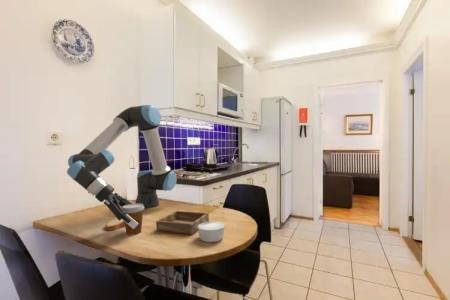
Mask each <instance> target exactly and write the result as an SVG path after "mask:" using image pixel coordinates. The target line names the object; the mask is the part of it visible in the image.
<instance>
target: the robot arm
mask: <svg viewBox="0 0 450 300" xmlns="http://www.w3.org/2000/svg"><path fill="white" fill-rule="evenodd" d="M161 120H162V114H161V112H160V109H158V108H157V107H156V106H155V105H152V104H144V105H143V104H142V105H137V106H130V107H128V108H125V109H124V110H122V111H120V113H118V115H116V116H115V117H114V118H113V120H112V122H111V123H110V124H109V125H108V126H107V127H106V128H104V130H103V131H102V132H100V133H99V134H98V135H97V136H96V137H95V138H94V139H93V140H91V142H90V143H89V144H88V145H86V146H85V147H84V148H83V150H81V151H80V152H79V153H75V154H72V155H70V157H68V160H67V163H68V166H69V168H67V170H66V174H67V175H68V176H69V177H70V178H71V179H72V180H73V181H74V182H76V183H77V184H78V185H79V186H81V187H82V188H84V190H86V191H87V194H90V195H91V196H93V197H94V196H95V199H96V200H97V201H99V202H100V203H103V204H104V205H105V206H106V207H107V208H108V209H109V211H110V212H111V213H112V214H113V215H114V217H115V218H117V219H118V220H119V221H120V220H121V219H122V220H123V221H124V222H126V223H127V224H128V225H129V226H130V227H132V228H133V229H134V228H135V227H136V226H137V225H138V223H137V222H136V221H135V220H134V219H132V218H131V217H130V216H129V215H128V214H125V213H124V211H123V210H122V207H123V206H125V205H128V204H143V206H144V209H148V208H149V209H150V208H154V207H157V206H160V199H159V197H158V194H157V191H164V192H167V191H169V192H170V191H172V190H173V189H174V188H175V187H176V185H177V182H178V181H177V176H178V175H177V174H176V172H174V171H172V169H171V167H170V166H169V165H167V160H166V157H165V153H164V149H163V144H162V142H161V139H160V133H159V131H158V130H159V128H160V124H161V122H162V121H161ZM135 127H137V128H138V131H139V132H140V133H142V135H143V138H144V143H145V145H146V149H147V152H148V157H149V160H150V163H151V166H152V169H148V170H140V171H138V172H137V177H136V183H137V185H136V186H137V187H136V188H137V194H136V199H135V203H132V202H130V201H129V200H128V199H126V198H124V197H123V196H121V195H119V194H118V193H117V192H115V188H114V187H113V186H112V185H111V184H108V182H107V181H106V180H104V179H103V178H102V177H101V176H100V174H101V173H103V172H104V171H105V170H107V169H108V168H109V167H110V166H111V165H112V164H114V162H115V157H114V154H113V153H112V152H111V151H109V150H107V149H109V147H110V146H111V145H112V144H113V143H114V142H115V141H116V140H117V139H118V138H119V137H120V136H121V135H122V134H123V133H126V132H127V131H128V130H129V129H131V128H135ZM113 192H114V193H113Z"/></svg>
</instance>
